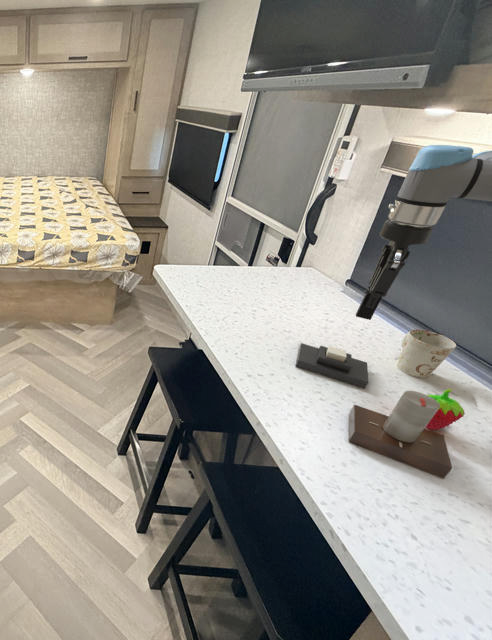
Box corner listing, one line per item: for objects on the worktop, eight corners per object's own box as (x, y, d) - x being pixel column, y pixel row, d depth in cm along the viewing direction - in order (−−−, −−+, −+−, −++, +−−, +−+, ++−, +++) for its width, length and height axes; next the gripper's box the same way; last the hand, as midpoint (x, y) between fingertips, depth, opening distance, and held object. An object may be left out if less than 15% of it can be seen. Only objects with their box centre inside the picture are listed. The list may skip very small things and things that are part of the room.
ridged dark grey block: (363, 369, 103) (370, 356, 101) (364, 389, 96) (371, 376, 94) (298, 349, 111) (303, 337, 109) (295, 366, 104) (300, 354, 102)
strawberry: (397, 412, 89) (419, 377, 85) (440, 421, 87) (465, 385, 82) (410, 430, 85) (434, 394, 80) (455, 440, 82) (483, 404, 77)
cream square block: (343, 356, 102) (346, 350, 101) (343, 362, 100) (346, 357, 99) (326, 351, 104) (328, 345, 103) (325, 357, 102) (328, 352, 101)
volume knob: (382, 420, 83) (403, 385, 79) (414, 431, 80) (438, 396, 76) (383, 434, 80) (405, 399, 75) (417, 447, 77) (442, 411, 73)
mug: (401, 377, 100) (421, 344, 95) (375, 349, 111) (392, 319, 106) (443, 383, 98) (465, 350, 93) (412, 354, 108) (431, 323, 104)
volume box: (435, 445, 81) (444, 434, 80) (443, 478, 74) (453, 467, 73) (348, 414, 89) (354, 403, 87) (348, 441, 82) (354, 430, 81)
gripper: (384, 212, 91) (343, 302, 102) (388, 226, 82) (343, 323, 93) (429, 218, 87) (382, 311, 98) (439, 233, 78) (385, 333, 89)
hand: (363, 316), depth 96 cm, fingers closed
